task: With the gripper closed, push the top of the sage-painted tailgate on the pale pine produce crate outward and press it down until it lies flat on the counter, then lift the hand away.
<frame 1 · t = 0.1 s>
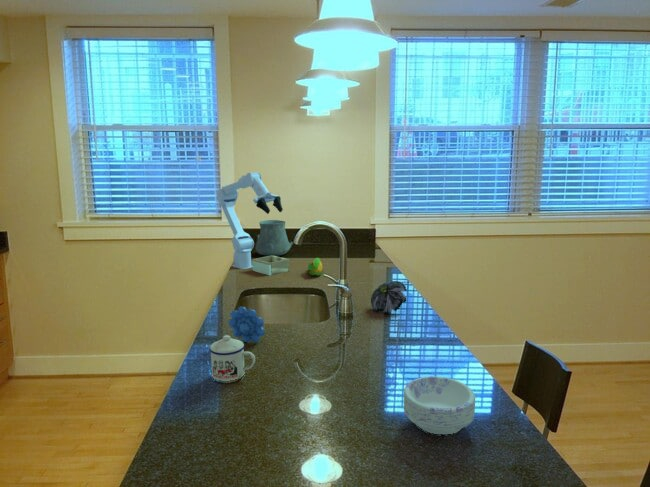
hand: (275, 211, 234), 32 cm above the worktop, tool tilted 50°, fingers open, 7 cm apart
tailgate: (261, 267, 245), point 4 cm above the worktop, hinge at 0.0°
paper bowls: (438, 425, 109), on the worktop
vessel: (274, 255, 290), on the worktop
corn: (315, 273, 246), on the worktop
crate: (271, 271, 249), on the worktop
teacup with lid: (234, 377, 133), on the worktop
grapes: (246, 344, 156), on the worktop
decorative flower: (387, 309, 188), on the worktop
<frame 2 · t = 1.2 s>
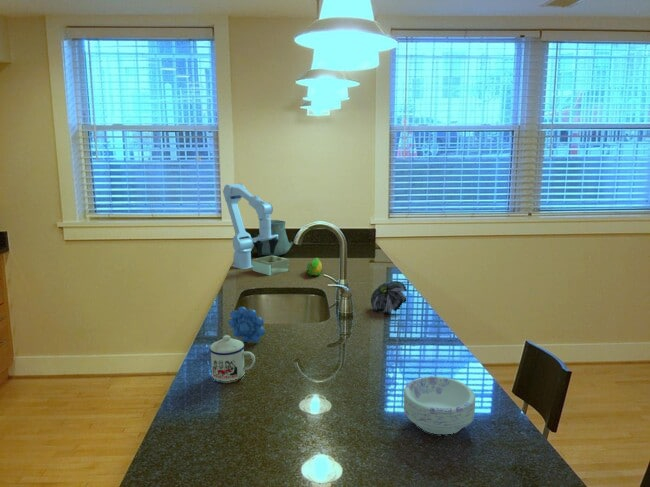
hand: (266, 254, 245), 9 cm above the worktop, tool pointing down, fingers open, 7 cm apart
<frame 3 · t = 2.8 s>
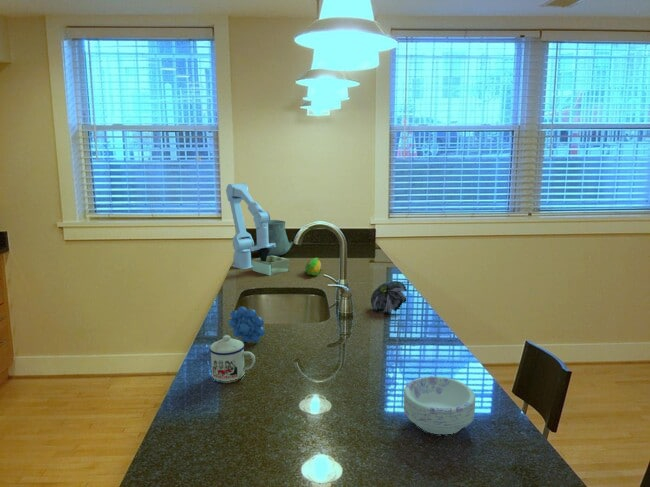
hand: (263, 263, 245), 5 cm above the worktop, tool pointing down, fingers closed, pressing on tailgate
tailgate: (261, 267, 245), point 4 cm above the worktop, hinge at 0.1°, touching gripper
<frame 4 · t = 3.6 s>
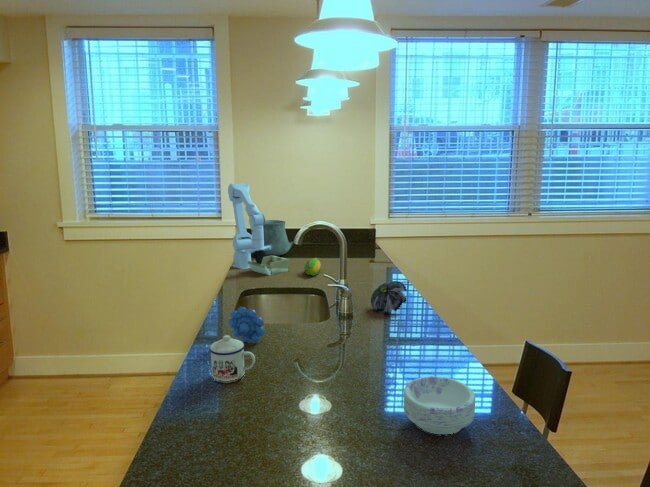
hand: (259, 265, 243), 4 cm above the worktop, tool pointing down, fingers closed, pressing on tailgate
tailgate: (259, 268, 244), point 3 cm above the worktop, hinge at 31.5°, touching gripper
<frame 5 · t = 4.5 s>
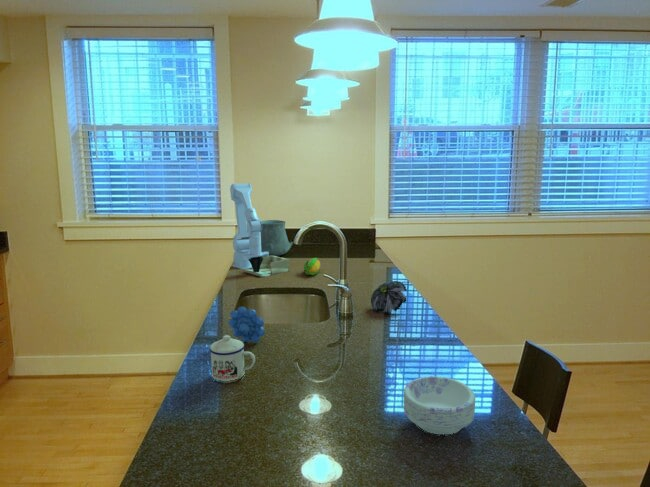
hand: (256, 272, 242), 2 cm above the worktop, tool pointing down, fingers closed, pressing on tailgate
tailgate: (257, 272, 243), point 1 cm above the worktop, hinge at 79.8°, touching gripper
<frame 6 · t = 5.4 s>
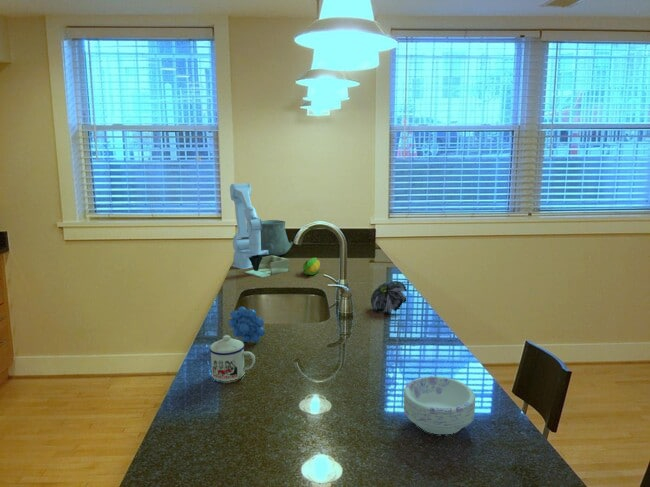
hand: (255, 270, 242), 2 cm above the worktop, tool pointing down, fingers closed
tailgate: (257, 274, 243), point 1 cm above the worktop, hinge at 91.7°
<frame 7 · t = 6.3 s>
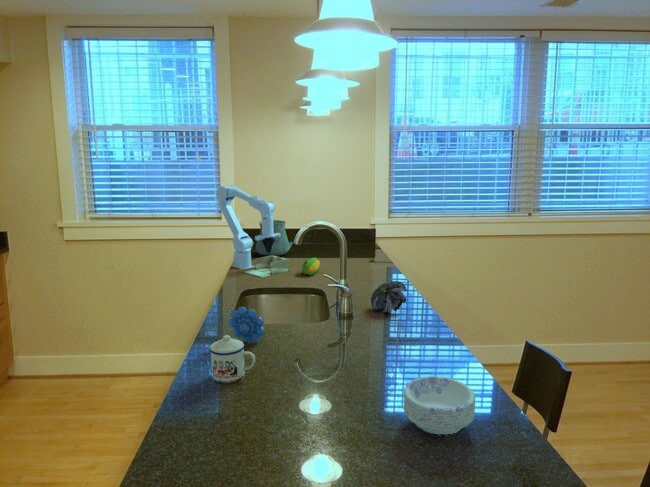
hand: (268, 252, 251), 9 cm above the worktop, tool pointing down, fingers closed
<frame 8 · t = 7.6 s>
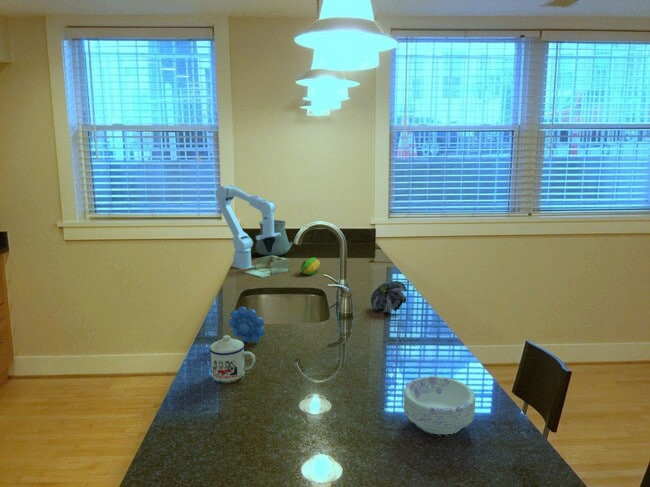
hand: (269, 252, 252), 9 cm above the worktop, tool pointing down, fingers closed
at the end: tailgate at +92° (first picture: +0°); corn moved 2.7 cm from its start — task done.
